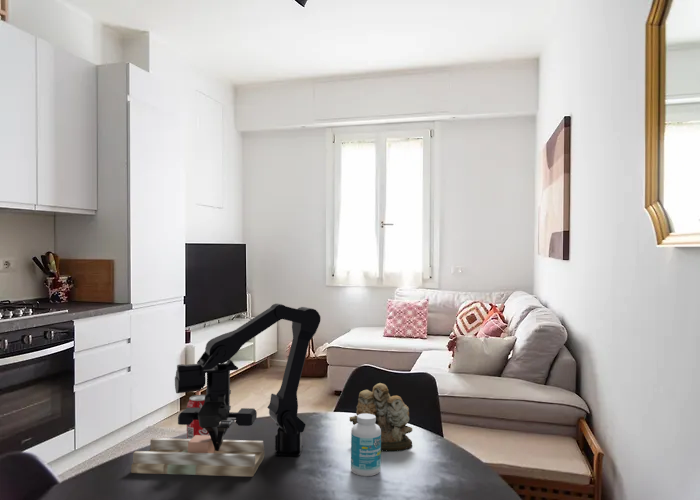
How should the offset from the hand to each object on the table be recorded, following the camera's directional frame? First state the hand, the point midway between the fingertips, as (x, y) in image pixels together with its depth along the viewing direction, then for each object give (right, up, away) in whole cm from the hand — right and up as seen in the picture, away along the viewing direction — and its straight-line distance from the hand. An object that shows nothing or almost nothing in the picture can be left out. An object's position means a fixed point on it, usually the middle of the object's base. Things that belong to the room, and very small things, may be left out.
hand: (217, 450), depth 124 cm
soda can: (-10, -4, +18) cm, 22 cm away
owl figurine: (+42, -5, +16) cm, 45 cm away
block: (-4, -2, 0) cm, 4 cm away
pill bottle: (+38, -4, -3) cm, 38 cm away
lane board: (-4, -4, 0) cm, 6 cm away
